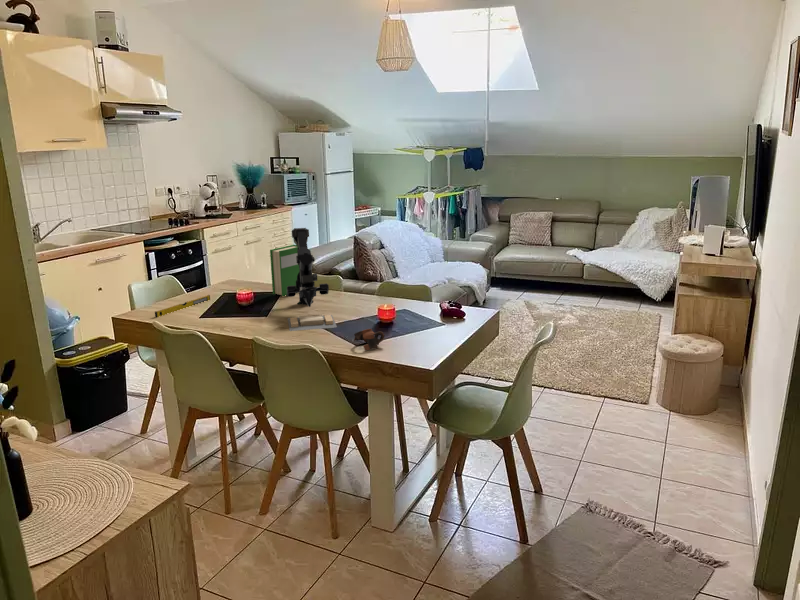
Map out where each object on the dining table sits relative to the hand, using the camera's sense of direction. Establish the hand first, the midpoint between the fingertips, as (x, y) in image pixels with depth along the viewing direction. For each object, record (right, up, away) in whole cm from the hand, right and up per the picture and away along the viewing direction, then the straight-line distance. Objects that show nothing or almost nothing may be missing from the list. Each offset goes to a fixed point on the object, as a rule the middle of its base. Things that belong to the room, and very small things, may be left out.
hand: (309, 306), depth 272 cm
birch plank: (+1, -5, -3) cm, 6 cm away
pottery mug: (+29, -16, -33) cm, 47 cm away
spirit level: (-64, -2, +22) cm, 68 cm away
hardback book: (-18, +7, +51) cm, 54 cm away
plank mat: (+2, -8, -6) cm, 10 cm away
